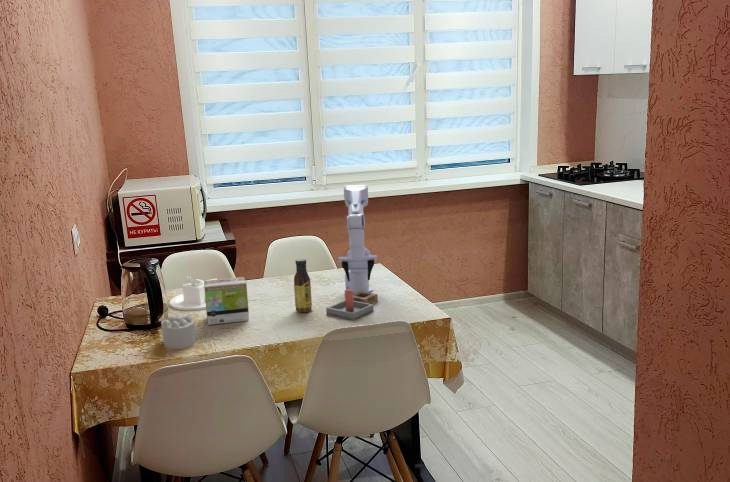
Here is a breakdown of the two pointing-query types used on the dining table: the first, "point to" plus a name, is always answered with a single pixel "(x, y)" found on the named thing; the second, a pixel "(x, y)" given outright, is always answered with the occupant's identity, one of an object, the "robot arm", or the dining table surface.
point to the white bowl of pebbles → (178, 332)
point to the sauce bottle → (302, 287)
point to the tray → (358, 312)
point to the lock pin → (349, 300)
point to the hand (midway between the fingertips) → (358, 280)
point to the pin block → (365, 297)
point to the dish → (191, 296)
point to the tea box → (226, 300)
